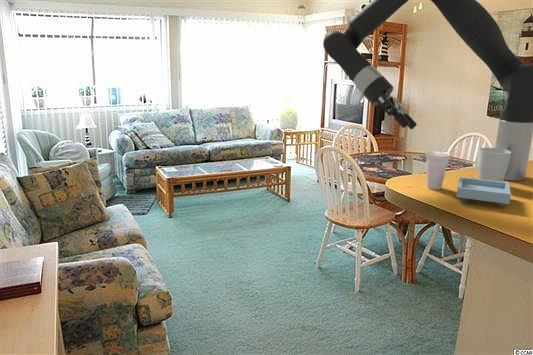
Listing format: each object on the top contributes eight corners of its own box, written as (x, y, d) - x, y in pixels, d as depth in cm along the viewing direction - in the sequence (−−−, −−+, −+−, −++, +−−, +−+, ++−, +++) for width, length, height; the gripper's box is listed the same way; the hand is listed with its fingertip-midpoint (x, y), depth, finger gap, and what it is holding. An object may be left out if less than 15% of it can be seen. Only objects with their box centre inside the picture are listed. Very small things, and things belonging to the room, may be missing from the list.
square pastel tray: (458, 191, 120) (460, 176, 119) (506, 197, 116) (508, 182, 115) (455, 203, 110) (457, 187, 109) (508, 210, 105) (511, 194, 104)
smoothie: (448, 191, 119) (455, 140, 116) (423, 190, 121) (429, 139, 117) (444, 185, 126) (450, 136, 122) (420, 183, 127) (425, 135, 123)
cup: (502, 182, 130) (507, 148, 127) (508, 190, 122) (514, 154, 119) (472, 179, 132) (476, 146, 129) (476, 187, 124) (481, 152, 122)
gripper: (375, 71, 120) (415, 115, 115) (389, 78, 132) (426, 118, 127) (354, 91, 123) (393, 135, 118) (371, 97, 135) (406, 136, 130)
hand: (410, 126), depth 123 cm, fingers open, 8 cm apart
